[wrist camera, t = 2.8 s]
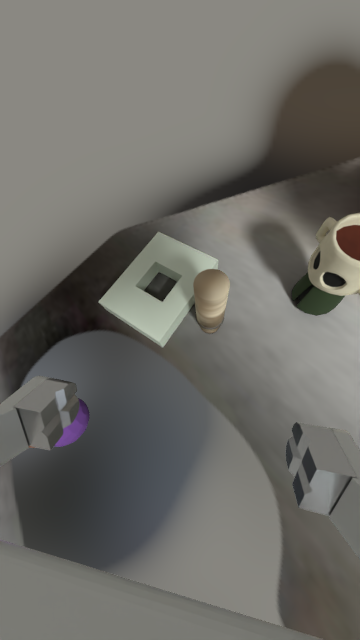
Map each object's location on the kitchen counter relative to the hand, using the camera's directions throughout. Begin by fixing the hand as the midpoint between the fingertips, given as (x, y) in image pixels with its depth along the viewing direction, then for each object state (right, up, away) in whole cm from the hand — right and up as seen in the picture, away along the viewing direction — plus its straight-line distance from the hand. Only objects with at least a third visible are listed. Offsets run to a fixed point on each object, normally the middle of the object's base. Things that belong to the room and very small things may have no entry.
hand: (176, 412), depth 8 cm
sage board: (-3, +9, +29) cm, 30 cm away
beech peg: (+5, +3, +26) cm, 27 cm away
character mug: (+21, +7, +26) cm, 34 cm away
